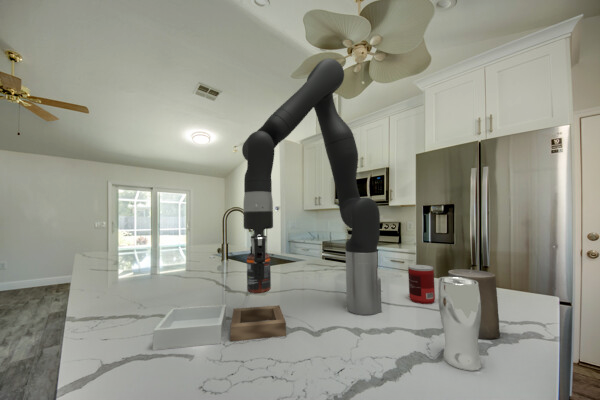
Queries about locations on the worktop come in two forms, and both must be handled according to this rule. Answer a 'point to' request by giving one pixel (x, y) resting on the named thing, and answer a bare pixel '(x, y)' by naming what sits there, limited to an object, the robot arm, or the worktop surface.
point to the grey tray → (190, 327)
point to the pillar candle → (484, 300)
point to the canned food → (421, 284)
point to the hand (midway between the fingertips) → (258, 276)
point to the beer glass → (460, 321)
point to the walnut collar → (257, 323)
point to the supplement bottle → (252, 283)
